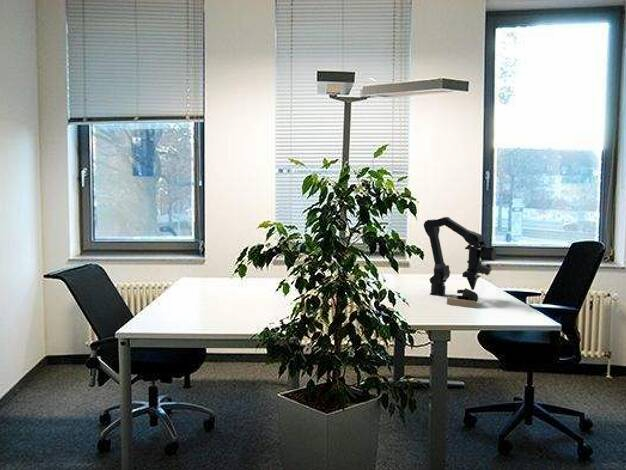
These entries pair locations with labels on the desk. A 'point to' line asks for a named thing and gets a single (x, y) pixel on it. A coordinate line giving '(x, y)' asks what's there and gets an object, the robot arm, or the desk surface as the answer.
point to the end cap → (467, 295)
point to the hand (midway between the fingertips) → (472, 289)
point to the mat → (463, 303)
